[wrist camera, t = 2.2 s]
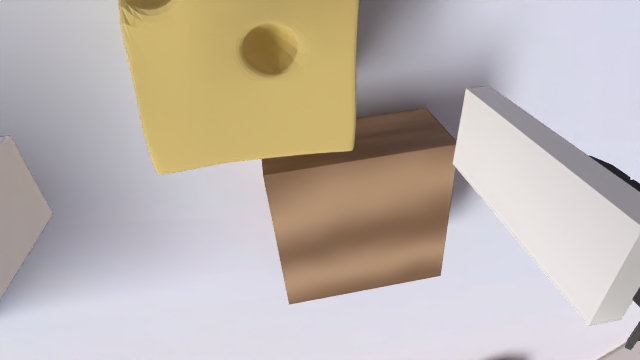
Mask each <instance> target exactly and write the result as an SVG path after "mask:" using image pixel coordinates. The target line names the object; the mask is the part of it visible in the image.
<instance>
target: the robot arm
mask: <svg viewBox="0 0 640 360" xmlns="http://www.w3.org/2000/svg"><path fill="white" fill-rule="evenodd" d="M453 165H454V166H455V167H456V168H457V169H458V171H459V172H460V173H461V174H462V175H463V177H464V178H465V179H466V180H467V181H468V183H469V184H470V185H471V186H472V187H473V188H474V190H475V191H476V192H477V193H478V194H479V196H480V197H481V198H482V199H483V200H484V202H485V203H486V204H487V205H488V206H489V208H490V209H491V210H492V211H493V212H494V214H495V215H496V216H497V217H498V218H499V219H500V221H501V222H502V223H503V224H504V225H505V227H506V228H507V229H508V230H509V231H510V233H511V234H512V235H513V236H514V237H515V239H516V240H517V241H518V242H519V243H520V245H521V246H522V247H523V248H524V249H525V250H526V252H527V253H528V254H529V255H530V256H531V258H532V259H533V260H534V261H535V262H536V264H537V265H538V266H539V267H540V268H541V270H542V271H543V272H544V273H545V274H546V275H547V277H548V278H549V279H550V280H551V281H552V283H553V284H554V285H555V286H556V287H557V289H558V290H559V291H560V292H561V293H562V295H563V296H564V297H565V298H566V299H567V301H568V302H569V303H570V304H571V305H572V306H573V308H574V309H575V310H576V311H577V312H578V314H579V315H580V316H581V317H582V318H583V320H584V321H585V322H586V323H587V324H588V326H590V325H595V324H601V323H606V322H612V321H617V320H621V319H622V317H623V316H624V314H625V313H626V311H627V309H628V308H629V306H630V305H631V303H632V301H634V302H635V303H636V304H637V305H638V306H639V307H640V184H639V183H638V182H636V181H635V180H630V177H629V176H628V175H626V174H625V173H623V172H622V171H620V170H619V169H617V168H616V167H615V166H613V165H611V164H609V163H606V162H604V161H602V160H599V159H597V158H595V157H592V156H590V155H589V156H588V155H587V154H585V153H584V152H582V151H581V150H579V149H578V148H577V147H575V146H574V145H572V144H571V143H569V142H568V141H567V140H565V139H564V138H562V137H561V136H560V135H558V134H557V133H555V132H554V131H552V130H551V129H550V128H548V127H547V126H545V125H544V124H543V123H541V122H540V121H538V120H537V119H535V118H534V117H533V116H531V115H530V114H528V113H527V112H526V111H524V110H523V109H521V108H520V107H518V106H517V105H516V104H514V103H513V102H511V101H510V100H509V99H507V98H506V97H504V96H503V95H501V94H500V93H499V92H497V91H496V90H494V89H493V88H492V87H490V86H483V87H473V88H466V91H465V97H464V102H463V108H462V114H461V119H460V125H459V131H458V136H457V142H456V148H455V153H454V159H453ZM52 215H53V213H52V212H51V210H50V208H49V206H48V204H47V202H46V200H45V199H44V197H43V195H42V193H41V191H40V189H39V187H38V186H37V184H36V182H35V180H34V178H33V176H32V174H31V173H30V171H29V169H28V167H27V165H26V163H25V161H24V160H23V158H22V156H21V154H20V152H19V150H18V148H17V147H16V145H15V143H14V141H13V139H12V137H11V135H10V136H1V137H0V299H1V298H2V296H3V295H4V293H5V291H6V290H7V288H8V286H9V285H10V283H11V281H12V280H13V278H14V277H15V275H16V273H17V272H18V270H19V268H20V267H21V265H22V264H23V262H24V260H25V259H26V257H27V255H28V254H29V252H30V250H31V249H32V247H33V246H34V244H35V242H36V241H37V239H38V237H39V236H40V234H41V233H42V231H43V229H44V228H45V226H46V224H47V223H48V221H49V220H50V218H51V216H52ZM637 341H640V322H639V323H638V325H637V326H636V328H635V329H634V331H633V332H632V334H631V335H630V337H629V338H628V340H627V342H626V345H625V348H627V349H630V350H631V349H632V348H633V346H634V345H635V344H636V342H637Z"/></svg>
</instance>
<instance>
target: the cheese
mask: <svg viewBox="0 0 640 360" xmlns="http://www.w3.org/2000/svg"><path fill="white" fill-rule="evenodd" d="M359 2H360V0H119V10H120V22H121V28H122V33H123V39H124V44H125V48H126V52H127V57H128V61H129V65H130V69H131V74H132V78H133V82H134V86H135V91H136V96H137V101H138V106H139V112H140V117H141V122H142V126H143V131H144V135H145V139H146V142H147V146H148V150H149V153H150V156H151V159H152V161H153V164H154V166H155V169H156V171H157V172H158V173H160V174H169V173H174V172H180V171H186V170H191V169H196V168H201V167H206V166H211V165H216V164H222V163H228V162H236V161H245V160H254V159H264V158H273V157H283V156H293V155H302V154H314V153H327V152H344V151H352V150H353V148H354V143H355V130H356V51H357V28H358V13H359Z"/></svg>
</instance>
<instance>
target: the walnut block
mask: <svg viewBox="0 0 640 360" xmlns="http://www.w3.org/2000/svg"><path fill="white" fill-rule="evenodd" d="M456 142H457V141H456V140H455V139H454V138H453V137H452V136H451V135H450V134H449V133H448V132H447V130H446V129H445V128H444V127H443V126H442V125H441V124H440V123H439V122H438V120H437V119H436V118H435V117H434V116H433V115H432V114H431V113H430V112H429V111H428V109H427V108H422V109H416V110H409V111H403V112H396V113H390V114H383V115H377V116H370V117H363V118H357V119H356V130H355V143H354V148H353V150H352V151H344V152H327V153H314V154H302V155H293V156H283V157H273V158H264V159H262V167H263V177H264V182H265V187H266V192H267V197H268V201H269V206H270V211H271V216H272V221H273V226H274V231H275V236H276V241H277V246H278V251H279V256H280V261H281V266H282V271H283V276H284V281H285V286H286V290H287V295H288V300H289V304H294V303H300V302H305V301H310V300H315V299H321V298H326V297H331V296H336V295H342V294H347V293H352V292H357V291H363V290H368V289H373V288H378V287H384V286H389V285H394V284H399V283H405V282H410V281H415V280H421V279H426V278H431V277H436V276H441V269H442V261H443V254H444V247H445V240H446V233H447V226H448V218H449V211H450V204H451V197H452V190H453V182H454V175H455V168H456V167H455V166H454V165H453V159H454V153H455V148H456Z"/></svg>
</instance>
